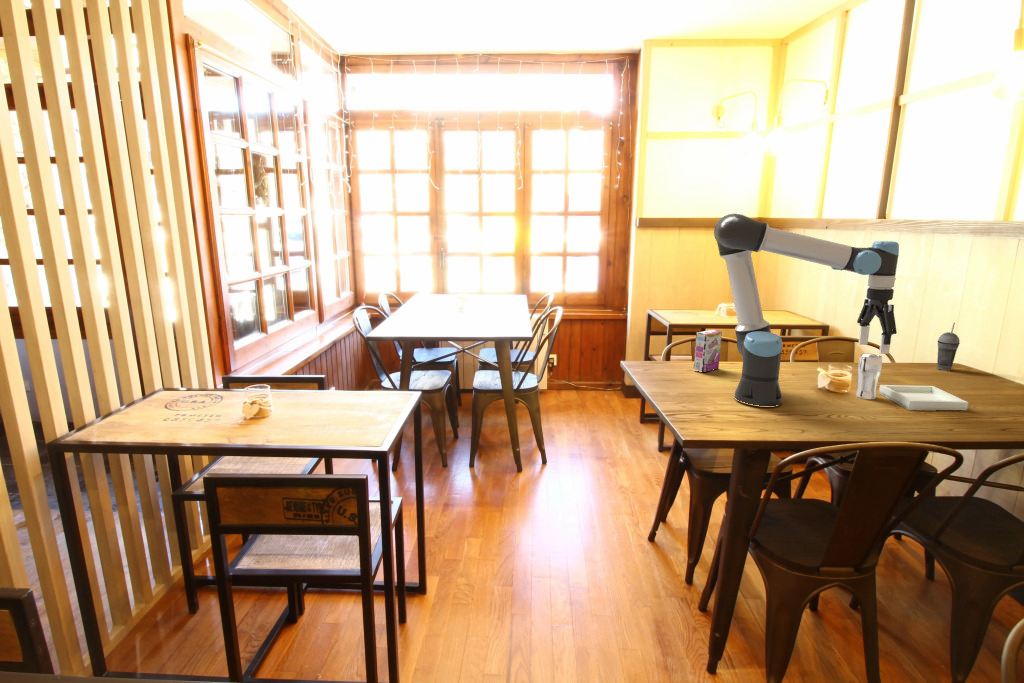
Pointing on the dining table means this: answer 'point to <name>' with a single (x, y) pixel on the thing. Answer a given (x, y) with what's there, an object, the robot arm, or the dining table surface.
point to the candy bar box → (707, 350)
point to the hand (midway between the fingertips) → (873, 349)
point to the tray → (922, 397)
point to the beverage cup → (947, 349)
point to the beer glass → (868, 375)
